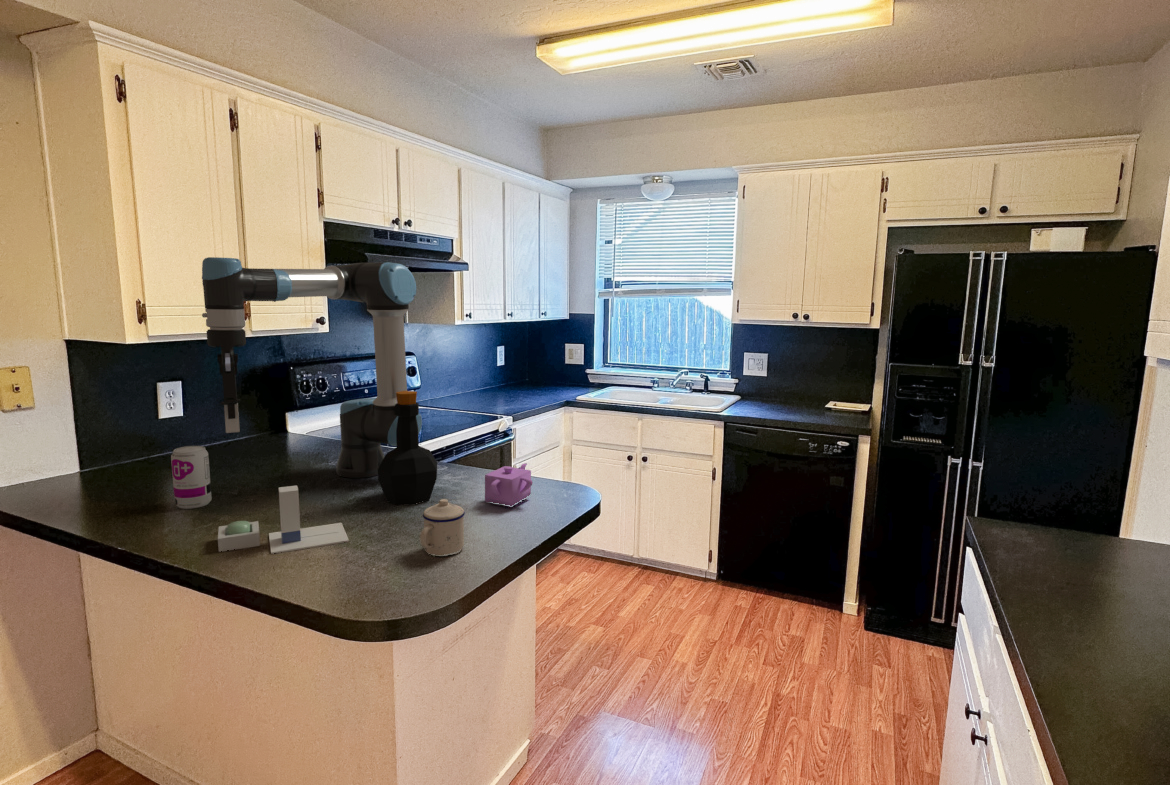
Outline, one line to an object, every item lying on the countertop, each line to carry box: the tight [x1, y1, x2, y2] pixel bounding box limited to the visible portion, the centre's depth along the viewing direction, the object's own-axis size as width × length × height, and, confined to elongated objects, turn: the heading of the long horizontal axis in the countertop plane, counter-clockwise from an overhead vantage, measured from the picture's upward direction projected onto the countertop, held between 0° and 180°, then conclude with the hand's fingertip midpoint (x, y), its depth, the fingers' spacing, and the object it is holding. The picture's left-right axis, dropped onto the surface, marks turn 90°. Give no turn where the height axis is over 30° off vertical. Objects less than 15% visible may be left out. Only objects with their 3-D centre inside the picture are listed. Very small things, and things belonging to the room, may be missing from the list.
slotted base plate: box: [268, 522, 350, 555], centre depth 145 cm, size 16×12×1 cm
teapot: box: [484, 463, 534, 506], centre depth 172 cm, size 18×14×10 cm
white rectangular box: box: [278, 485, 301, 544], centre depth 142 cm, size 4×4×12 cm
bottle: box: [377, 390, 438, 506], centre depth 171 cm, size 16×16×30 cm
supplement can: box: [170, 445, 213, 510], centre depth 163 cm, size 8×8×15 cm
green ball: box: [226, 520, 250, 535], centre depth 141 cm, size 4×4×4 cm
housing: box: [217, 520, 261, 553], centre depth 141 cm, size 8×8×3 cm
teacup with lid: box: [419, 498, 466, 555], centre depth 138 cm, size 12×9×12 cm
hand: (232, 431), depth 143 cm, fingers closed
